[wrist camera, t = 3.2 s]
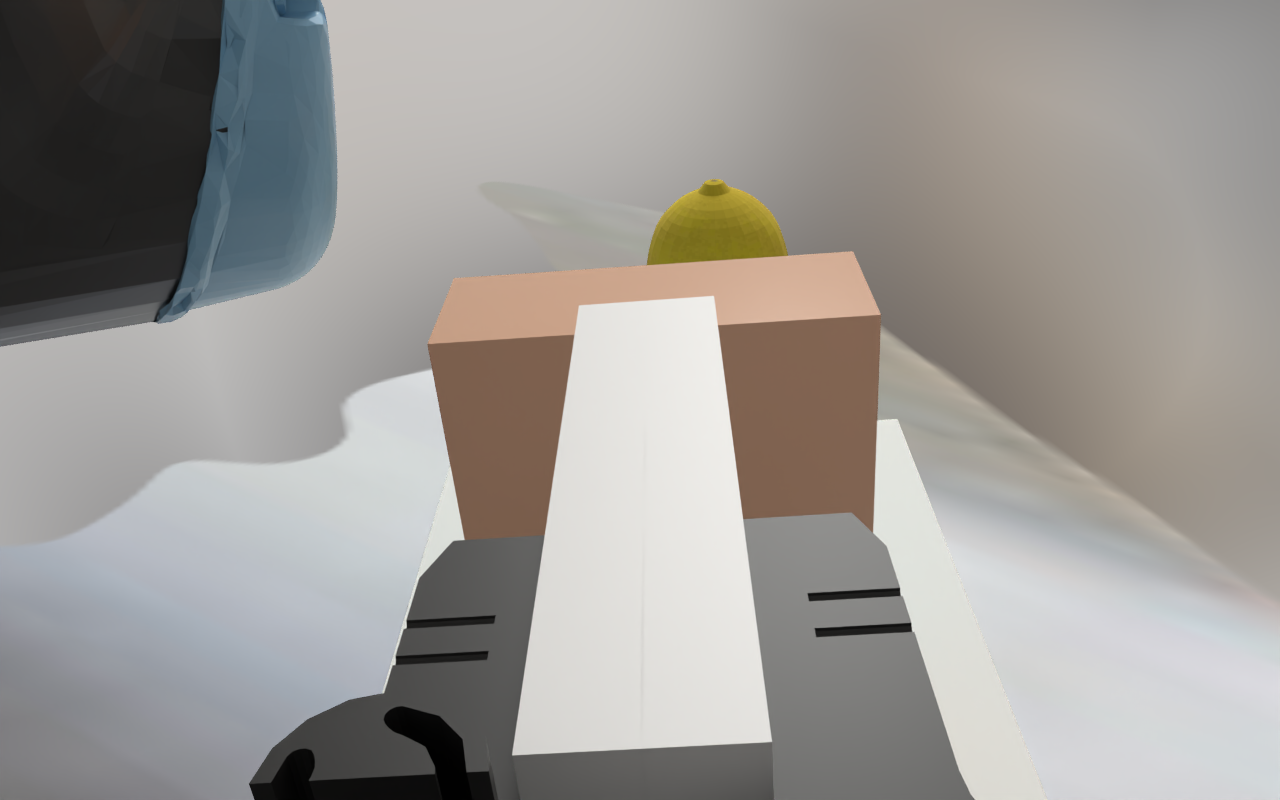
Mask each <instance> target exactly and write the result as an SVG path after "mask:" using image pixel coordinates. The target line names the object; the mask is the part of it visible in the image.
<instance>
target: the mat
mask: <svg viewBox="0 0 1280 800" xmlns="http://www.w3.org/2000/svg"><path fill="white" fill-rule="evenodd" d="M873 533H874V534H875V535H876V536H877V537H878V538H879V539H880V540H881V541H882V542H883V543H884V544H885V545H886V546H887V548H888V551H889V554H890V558H891V561H892V564H893V567H894V570H895V573H896V576H897V579H898V582H899V585H900V593H901V596H903V598H904V601H905V604H906V607H907V610H908V613H909V617H910V620H911V623H912V632H915V635H916V638H917V641H918V644H919V648H920V651H921V654H922V657H923V660H924V663H925V666H926V669H927V672H928V675H929V679H930V682H931V685H932V688H933V691H934V694H935V697H936V700H937V703H938V706H939V710H940V713H941V716H942V719H943V722H944V725H945V728H946V731H947V734H948V737H949V741H950V744H951V747H952V750H953V753H954V756H955V759H956V762H957V765H958V768H959V771H960V773H961V775H962V777H963V779H964V781H965V783H966V785H967V787H968V790H969V792H970V794H971V795H972V796H973V798H974V799H975V800H1047V797H1046V795H1045V792H1044V790H1043V787H1042V785H1041V782H1040V779H1039V777H1038V774H1037V772H1036V769H1035V767H1034V764H1033V762H1032V759H1031V757H1030V754H1029V752H1028V749H1027V747H1026V744H1025V741H1024V739H1023V736H1022V734H1021V731H1020V729H1019V726H1018V724H1017V721H1016V719H1015V716H1014V714H1013V711H1012V709H1011V706H1010V703H1009V701H1008V698H1007V696H1006V693H1005V691H1004V688H1003V686H1002V683H1001V681H1000V678H999V676H998V673H997V671H996V668H995V665H994V663H993V660H992V658H991V655H990V653H989V650H988V648H987V645H986V643H985V640H984V638H983V635H982V633H981V630H980V627H979V625H978V622H977V620H976V617H975V615H974V612H973V610H972V607H971V605H970V602H969V600H968V597H967V595H966V592H965V589H964V587H963V584H962V582H961V579H960V577H959V574H958V572H957V569H956V567H955V564H954V562H953V559H952V557H951V554H950V551H949V549H948V546H947V544H946V541H945V539H944V536H943V534H942V531H941V529H940V526H939V524H938V521H937V519H936V516H935V513H934V511H933V508H932V506H931V503H930V501H929V498H928V496H927V493H926V491H925V488H924V486H923V483H922V481H921V478H920V475H919V473H918V470H917V468H916V465H915V463H914V460H913V458H912V455H911V453H910V450H909V448H908V445H907V443H906V440H905V437H904V435H903V432H902V430H901V427H900V425H899V422H898V420H897V419H890V420H877V439H876V467H875V496H874V524H873ZM457 540H465V539H464V534H463V529H462V524H461V518H460V513H459V508H458V503H457V497H456V492H455V487H454V481H453V476H452V471H451V466H450V467H449V470H448V473H447V477H446V480H445V484H444V487H443V490H442V494H441V497H440V500H439V504H438V507H437V510H436V514H435V517H434V520H433V524H432V527H431V531H430V534H429V537H428V541H427V544H426V547H425V551H424V554H423V557H422V561H421V564H420V567H419V571H418V574H417V578H416V581H415V584H414V588H413V591H412V594H411V598H410V601H409V604H408V608H407V611H406V614H405V618H404V621H403V625H402V628H401V631H400V635H399V638H398V641H397V645H396V648H395V651H394V655H393V658H392V661H391V665H390V668H389V672H388V675H387V678H386V682H385V685H384V688H383V692H382V694H383V693H384V692H385V688H386V685H387V682H388V679H389V675H390V672H391V669H392V665H395V664H396V657H395V656H396V652H397V649H398V646H399V643H400V639H401V636H402V633H403V629H406V628H407V622H406V620H407V616H408V613H409V610H410V607H411V603H412V600H413V597H414V593H415V590H416V587H417V584H418V580H419V578H420V577H421V576H422V574H423V573H424V572H425V571H426V570H427V569H428V568H429V567H430V566H431V565H432V563H433V562H434V561H435V560H436V559H437V558H438V557H439V556H440V555H441V554H442V552H443V551H444V550H445V549H446V548H447V547H448V546H449V545H450V544H451V543H452V542H453V541H457Z"/></svg>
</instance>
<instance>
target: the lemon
mask: <svg viewBox="0 0 1280 800" xmlns="http://www.w3.org/2000/svg"><path fill="white" fill-rule="evenodd" d="M778 256H788V254H787V249H786V246H785V242H784V239H783V236H782V233H781V230H780V227H779V225H778V223H777V221H776V219H775V218H774V216H773V215H772V213H771V212H770V211H769V210H768V209H767V208H766V207H765V206H764V205H763V204H762V203H761V202H760V201H758V200H757V199H756V198H754V197H753V196H751V195H749V194H748V193H746V192H744V191H741V190H738V189H735V188H732V187H728V186H727V185H726V184H725V183H724V182H723V181H722V180H719V179H712V180H707V181H705V182H704V184H703V185H702V186H701V188H700V189H697V190H694V191H692V192H690V193H688V194H686V195H684V196H683V197H681V198H680V199H678V200H677V201H676V202H675V203H674V204H673V205H672V206H671V207H670V208H669V209H668V210H667V211H666V212H665V213H664V214H663V216H662V217H661V218H660V220H659V222H658V224H657V226H656V228H655V231H654V234H653V237H652V241H651V245H650V249H649V254H648V260H647V265H659V264H674V263H689V262H704V261H718V260H733V259H748V258H763V257H778Z"/></svg>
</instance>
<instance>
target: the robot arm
mask: <svg viewBox="0 0 1280 800" xmlns="http://www.w3.org/2000/svg"><path fill="white" fill-rule="evenodd" d="M336 143H337V142H336V122H335V104H334V90H333V76H332V65H331V56H330V46H329V36H328V27H327V21H326V17H325V12H324V8H323V5H322V3H321V1H320V0H0V347H1V346H7V345H13V344H18V343H24V342H31V341H37V340H43V339H49V338H56V337H62V336H68V335H74V334H80V333H86V332H92V331H98V330H104V329H110V328H116V327H123V326H129V325H135V324H141V323H147V322H157V323H158V324H159V323H166V322H172V321H174V320H176V319H178V318H181V317H182V316H183V315H185V314H186V313H187V312H188V311H189V310H191V309H196V308H200V307H204V306H208V305H212V304H216V303H220V302H225V301H229V300H233V299H237V298H241V297H245V296H249V295H254V294H258V293H262V292H266V291H270V290H274V289H278V288H281V287H284V286H286V285H288V284H290V283H292V282H294V281H296V280H298V279H300V278H301V277H303V276H304V275H305V274H307V273H308V272H309V271H310V270H311V269H312V268H313V267H314V266H315V265H316V264H317V262H318V261H319V260H320V258H321V257H322V255H323V253H324V252H325V250H326V248H327V246H328V244H329V241H330V238H331V235H332V232H333V228H334V223H335V216H336V204H337V144H336ZM406 622H407V628H406V629H403V633H402V636H401V639H400V643H399V646H398V649H397V652H396V656H395V657H396V664H395V665H392V669H391V672H390V675H389V679H388V682H387V685H386V688H385V692H384V693H383V694H377V695H372V696H367V697H362V698H357V699H351V700H348V701H346V702H344V703H342V704H340V705H337V706H335V707H333V708H331V709H329V710H327V711H325V712H322V713H320V714H318V715H316V716H314V717H312V718H309V719H307V720H306V721H305V722H304V723H303V724H301V725H300V726H299V727H298V728H296V729H295V730H294V731H293V732H292V733H290V734H289V735H288V736H287V737H286V738H284V739H283V740H282V741H281V742H279V743H278V744H277V745H276V746H275V747H273V748H272V750H271V751H270V753H269V754H268V756H267V757H266V759H265V760H264V762H263V763H262V765H261V766H260V768H259V769H258V771H257V772H256V774H255V776H254V777H253V779H252V780H251V782H250V783H249V785H250V788H251V791H252V794H253V797H254V799H255V800H975V799H974V798H973V796H972V795H971V794H970V792H969V790H968V787H967V785H966V783H965V781H964V779H963V777H962V775H961V773H960V771H959V768H958V765H957V762H956V759H955V756H954V753H953V750H952V747H951V744H950V741H949V737H948V734H947V731H946V728H945V725H944V722H943V719H942V716H941V713H940V710H939V706H938V703H937V700H936V697H935V694H934V691H933V688H932V685H931V682H930V679H929V675H928V672H927V669H926V666H925V663H924V660H923V657H922V654H921V651H920V648H919V644H918V641H917V638H916V635H915V632H912V623H911V620H910V617H909V613H908V610H907V607H906V604H905V601H904V598H903V596H901V593H900V585H899V582H898V579H897V576H896V573H895V570H894V567H893V564H892V561H891V558H890V554H889V551H888V548H887V546H886V545H885V544H884V543H883V542H882V541H881V540H880V539H879V538H878V537H877V536H876V535H875V534H874V533H873V532H871V531H870V530H869V529H868V528H867V527H866V526H865V525H864V524H863V523H862V522H861V521H860V520H859V519H858V518H857V517H856V516H855V515H854V514H853V513H852V512H851V513H835V514H819V515H802V516H786V517H770V518H753V519H743V515H742V507H741V500H740V492H739V484H738V477H737V469H736V461H735V453H734V446H733V438H732V430H731V423H730V415H729V407H728V400H727V392H726V384H725V377H724V369H723V361H722V354H721V346H720V338H719V330H718V323H717V315H716V307H715V300H714V296H704V297H690V298H676V299H662V300H648V301H634V302H619V303H605V304H591V305H579V309H578V315H577V322H576V329H575V335H574V342H573V349H572V356H571V362H570V369H569V376H568V382H567V389H566V396H565V403H564V409H563V416H562V423H561V429H560V436H559V443H558V450H557V456H556V463H555V470H554V477H553V483H552V490H551V497H550V503H549V510H548V517H547V524H546V530H545V535H539V536H523V537H506V538H490V539H474V540H457V541H453V542H452V543H451V544H450V545H449V546H448V547H447V548H446V549H445V550H444V551H443V552H442V554H441V555H440V556H439V557H438V558H437V559H436V560H435V561H434V562H433V563H432V565H431V566H430V567H429V568H428V569H427V570H426V571H425V572H424V573H423V574H422V576H421V577H420V578H419V580H418V584H417V587H416V590H415V593H414V597H413V600H412V603H411V607H410V610H409V613H408V616H407V620H406Z"/></svg>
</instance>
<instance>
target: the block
mask: <svg viewBox="0 0 1280 800" xmlns="http://www.w3.org/2000/svg"><path fill="white" fill-rule="evenodd" d="M704 296H714V300H715V307H716V315H717V323H718V330H719V338H720V346H721V354H722V361H723V369H724V377H725V384H726V392H727V400H728V407H729V415H730V423H731V430H732V438H733V446H734V453H735V461H736V469H737V477H738V484H739V492H740V500H741V507H742V515H743V519H753V518H770V517H786V516H802V515H819V514H835V513H851V512H852V513H853V514H854V515H855V516H856V517H857V518H858V519H859V520H860V521H861V522H862V523H863V524H864V525H865V526H866V527H867V528H868V529H869V530H870V531H871V532H873V524H874V496H875V467H876V439H877V411H878V382H879V354H880V326H881V314H880V312H879V310H878V307H877V305H876V303H875V300H874V298H873V296H872V293H871V291H870V289H869V287H868V284H867V282H866V280H865V278H864V275H863V273H862V271H861V269H860V266H859V264H858V262H857V260H856V257H855V255H854V253H853V251H852V252H837V253H822V254H808V255H795V256H794V255H793V256H778V257H763V258H748V259H733V260H718V261H704V262H689V263H674V264H659V265H644V266H629V267H614V268H600V269H585V270H570V271H555V272H541V273H525V274H510V275H497V276H481V277H466V278H454V280H453V282H452V285H451V287H450V289H449V292H448V294H447V297H446V299H445V302H444V305H443V307H442V310H441V312H440V314H439V317H438V319H437V322H436V324H435V327H434V329H433V332H432V334H431V337H430V339H429V341H428V350H429V355H430V360H431V365H432V371H433V376H434V381H435V387H436V392H437V397H438V402H439V408H440V413H441V418H442V423H443V429H444V434H445V439H446V445H447V450H448V455H449V460H450V466H451V471H452V476H453V481H454V487H455V492H456V497H457V503H458V508H459V513H460V518H461V524H462V529H463V534H464V539H465V540H474V539H490V538H506V537H523V536H539V535H545V530H546V524H547V517H548V510H549V503H550V497H551V490H552V483H553V477H554V470H555V463H556V456H557V450H558V443H559V436H560V429H561V423H562V416H563V409H564V403H565V396H566V389H567V382H568V376H569V369H570V362H571V356H572V349H573V342H574V335H575V329H576V322H577V315H578V309H579V305H591V304H605V303H619V302H634V301H648V300H662V299H676V298H690V297H704Z"/></svg>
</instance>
